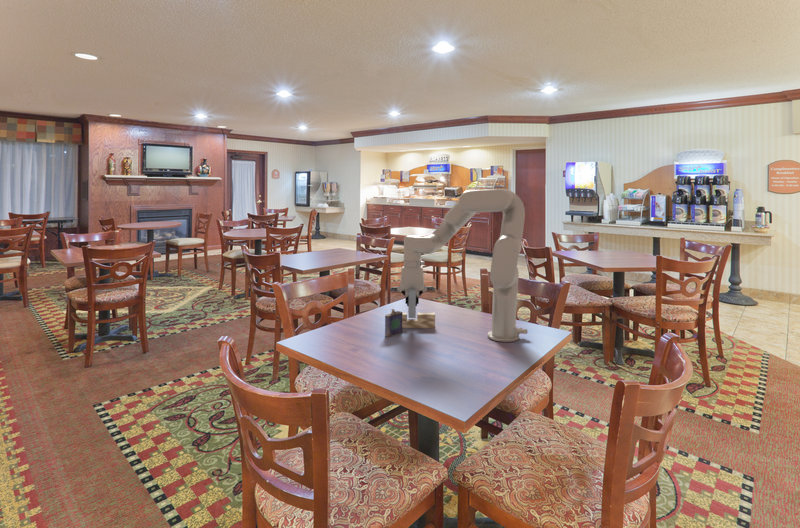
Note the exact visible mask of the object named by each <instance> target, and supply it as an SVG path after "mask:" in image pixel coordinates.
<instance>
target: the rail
mask: <svg viewBox="0 0 800 528" xmlns="http://www.w3.org/2000/svg"><path fill="white" fill-rule="evenodd" d="M390 313H391V312H389V313H388V314H390ZM403 328H404V329H406V328H407V329H408V328H409V329H411V328H412V329H414V328H415V329H418V328H419V329H421V328H422V329H428V328H429V329H430V328H431V329H435V328H436V312H416V318H408V312H402V329H403Z"/></svg>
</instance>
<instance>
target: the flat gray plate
mask: <svg viewBox="0 0 800 528" xmlns="http://www.w3.org/2000/svg"><path fill="white" fill-rule="evenodd" d="M408 296H409V306H407V308H408V309H407V310H408V311H407V314H408V319H417V311H416V310H417V308H416V307H417V306H416V289H409V290H408Z"/></svg>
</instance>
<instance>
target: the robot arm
mask: <svg viewBox="0 0 800 528" xmlns="http://www.w3.org/2000/svg"><path fill="white" fill-rule="evenodd" d="M494 212H495V213H497V212H502V220H501V224H500V225H501V227H500V235H499V238H498V239H497V240H496V242H495V243H494V245H493V249H492V250H493V251H492V256H491V257H492V259H491V265H490V271H489V280H490V281H491V284H492V285H493V287H492V288H493V289H492V304H491V305H492V306H491V307H492V309H491V310H492V311H491V330H489V331H488V332H487V338H488V339H490V340H492V341H497V342H503V343H510V342H516V341H519V339H520V334H523V335H527V334H528V333H529V332H528V331H529V330H528V328H524V327H523V328H522V327H517V326H516V324H517V305H518V303H517V302H518V290H519V289H518V288H519V287H518V286H519V276H520V275H519V273H520V272H519V268H518V264H519V263H518V261H519V257H520V256H519V255H520V253H521V251H522V246H523V245H522V244H523V242H522V241H523V235H524V226H525V218H526V210H525V206H524V203H523V201H522V199H521V198H520V197H519V195H517V194H516V193H515V192H514V191H512V190H510V189H508V188H494V189H493V188H492V189H491V188H490V189H468V190H465V191H463V192H462V193H461V194H460V196H459V198H458V201H457V202H456V203H455V204H454V205H453V206H452V207H451V208H450V209H448V211H447V212H446V213H445V215H443V216H444V217H443V220H442V222H441V223H440V224H439V226H437V228H436V229H435V230H434V231H433V232H432V233H431V234H429V235H426V236H420V235H416V234H409V235H405V236H404V238H403V266H402V267H401V270H400V283H399V285H398V286H397V288H396V290H397V292H399V293H401V294H402V295H403V296H404V297H405V304H406V306H407V307H408V306H409V296H408V290H409V289H416V307H418V305H419V301H420V300H419V297H420V296H422V295H423V294H424V293H425V292H427V291H428V288H427V286H426V285H425V276H424V275H425V274H424V267H423V266H424V265H425V261H424V260H422V254H424V255H431V254H434V253H435V252H438V251H439V250H441V249H442V248H443V247H444V246H445V245H446V244H447V243H448V242H449V241H450V240H451V239H452V238H453V237H454V236H455V235H456V234H457V233H458V232H459V231H460V230H461V229H462V228H463V227H464V225H466V224H467V222H469V221H470V220H471V218H473V217H474V216H475V215H476V214H477V213H494Z"/></svg>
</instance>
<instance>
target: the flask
mask: <svg viewBox="0 0 800 528" xmlns="http://www.w3.org/2000/svg"><path fill="white" fill-rule="evenodd" d="M390 311H391V312H389V313H390V314H389V313H388V314H387V313H386V314H385V316H384V328H385V329H384V335H385V337H388V338H389V337H392V336H396V335H400V334H402V333H403V328H402V313H403V312H402V311H399V310H395V309H394V308H391V309H390Z"/></svg>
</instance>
